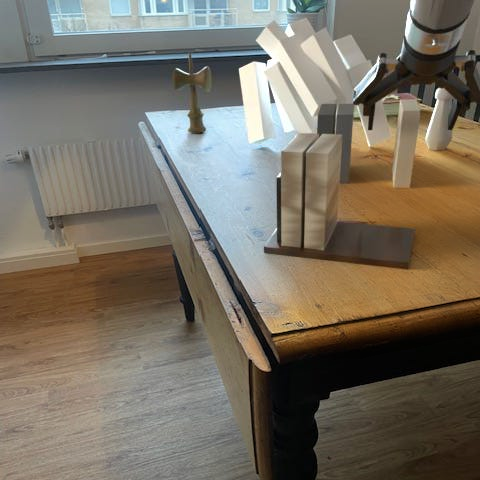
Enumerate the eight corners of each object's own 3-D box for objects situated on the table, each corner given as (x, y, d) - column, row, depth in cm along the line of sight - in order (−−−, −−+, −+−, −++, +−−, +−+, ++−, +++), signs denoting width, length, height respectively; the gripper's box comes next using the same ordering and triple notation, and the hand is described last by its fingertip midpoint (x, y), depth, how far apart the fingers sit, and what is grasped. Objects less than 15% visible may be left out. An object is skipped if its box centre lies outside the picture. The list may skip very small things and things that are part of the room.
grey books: (349, 168, 108) (354, 103, 100) (348, 183, 100) (353, 114, 92) (319, 167, 109) (321, 103, 102) (315, 183, 101) (317, 114, 94)
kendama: (211, 135, 138) (205, 53, 127) (177, 135, 140) (168, 54, 129) (216, 129, 143) (210, 50, 132) (183, 129, 144) (175, 51, 133)
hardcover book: (338, 111, 155) (339, 96, 152) (405, 106, 155) (406, 91, 153) (348, 119, 145) (349, 104, 142) (419, 114, 145) (421, 98, 143)
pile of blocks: (387, 148, 137) (353, 16, 132) (410, 129, 108) (368, -42, 103) (266, 189, 143) (229, 64, 138) (256, 181, 114) (209, 22, 109)
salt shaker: (453, 146, 117) (464, 85, 110) (446, 152, 113) (457, 90, 106) (427, 143, 120) (436, 84, 113) (420, 149, 116) (429, 89, 109)
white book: (406, 171, 104) (416, 99, 96) (409, 188, 96) (420, 110, 88) (391, 171, 104) (400, 99, 97) (393, 187, 96) (402, 110, 89)
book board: (414, 234, 79) (429, 135, 70) (407, 269, 69) (424, 160, 61) (285, 222, 85) (285, 130, 77) (263, 252, 76) (260, 152, 68)
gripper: (338, 61, 70) (337, 142, 91) (532, 55, 65) (484, 142, 86) (342, 14, 72) (340, 105, 92) (532, 5, 67) (485, 103, 87)
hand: (409, 123), depth 89 cm, fingers open, 13 cm apart
